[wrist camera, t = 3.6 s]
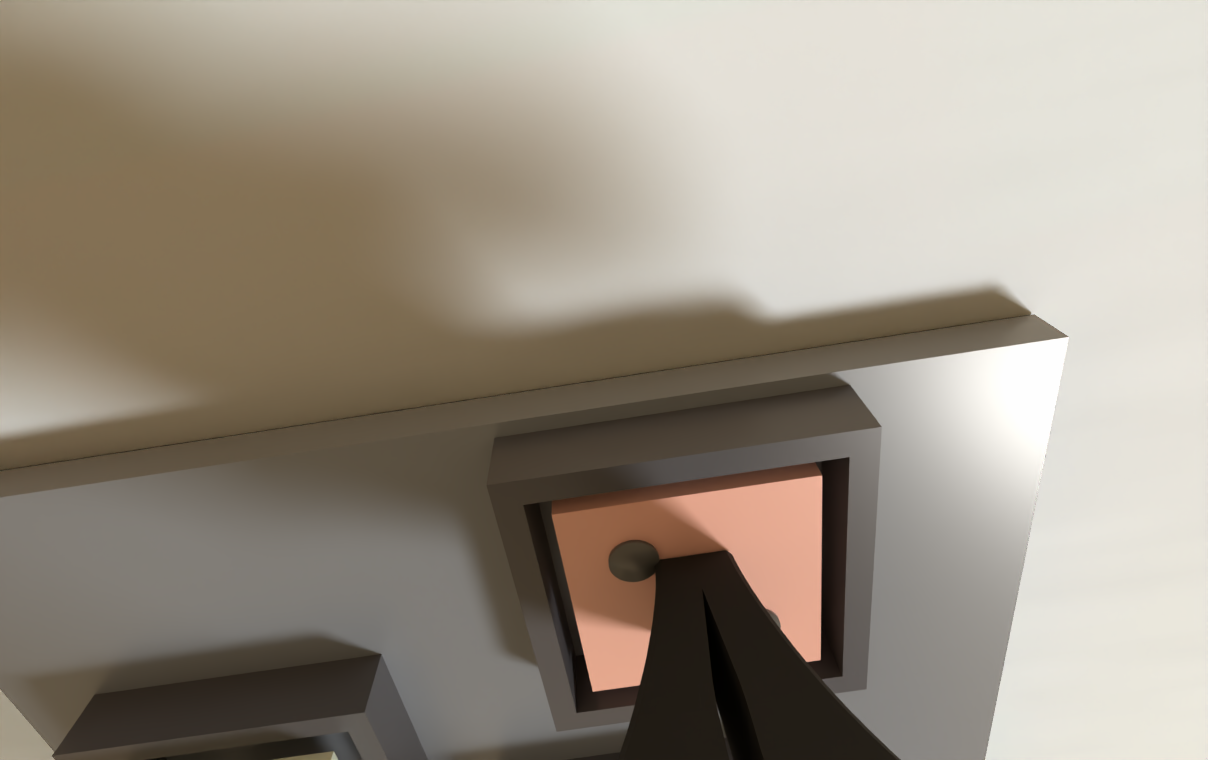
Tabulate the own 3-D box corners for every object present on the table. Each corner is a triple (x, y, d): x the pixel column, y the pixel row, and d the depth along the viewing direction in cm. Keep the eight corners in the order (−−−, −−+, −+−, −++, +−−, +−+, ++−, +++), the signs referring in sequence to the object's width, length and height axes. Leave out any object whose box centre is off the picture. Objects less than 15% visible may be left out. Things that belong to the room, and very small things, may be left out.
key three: (802, 613, 15) (822, 664, 14) (591, 643, 15) (592, 696, 14) (800, 436, 13) (824, 478, 11) (552, 473, 13) (551, 518, 12)
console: (944, 842, 21) (986, 933, 19) (256, 932, 22) (223, 1030, 20) (1034, 314, 13) (1126, 374, 11) (-99, 486, 13) (-225, 575, 11)
